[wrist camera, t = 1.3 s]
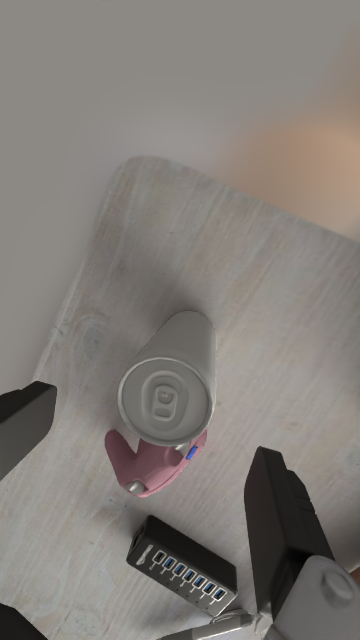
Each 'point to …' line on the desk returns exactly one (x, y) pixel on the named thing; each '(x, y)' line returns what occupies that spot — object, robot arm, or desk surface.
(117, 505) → the desk surface
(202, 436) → the video game controller
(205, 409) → the beverage can
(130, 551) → the multiport hub
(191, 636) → the pen
